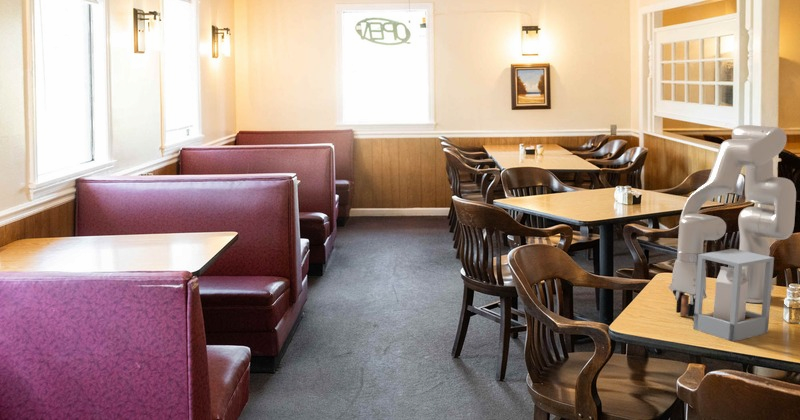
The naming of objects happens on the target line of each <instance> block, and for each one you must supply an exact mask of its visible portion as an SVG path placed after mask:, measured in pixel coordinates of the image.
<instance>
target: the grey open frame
mask: <svg viewBox="0 0 800 420" xmlns="http://www.w3.org/2000/svg"><path fill="white" fill-rule="evenodd" d="M706 261H711V262H715V263H719V264H722V265H723V264H724V265H728V267H730V268H734V275H733V288H732V301H731V314H730V322H728V321H724V320H721V319H718V318H714V317H711V316H708V315H705V314H706V313H703V302H704V301H703V300H704V299H703V289H704V275H705V270H706ZM774 261H775V257H774V256H770V255H769V256H765V255H760V254H755V253H751V252H746V251H742V250H739V249H737V248H729V249H724V250H718V251H717V250H716V251H710V252H703V254H698V268H697V282H696V297H695V311H694V318H693V327H692V328H693V330H695V329H696V331H699V332H702V333H706V334H709V335H711V336H715V337H718V338H720V339H724V340H726V341H730V342H739V341H741V340H745V339H749V338H753V337H757V336H761V335H765V334H768V333H769V322H770V312H771V311H770V310H771V300H772V299H771V298H772V290H771V288H772V285H773V275H774ZM765 262H766V267H765V279H764V291H763V303H761V314H760V313H758V312H754V311H750V310H746V311H745V315H748V316H751V317H755V318H754V319H749V320H745V321H741V322H738V313H739V300H740V287H741V275H742V267H743V266H748V265H754V264H759V263H765Z"/></svg>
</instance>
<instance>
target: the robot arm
mask: <svg viewBox="0 0 800 420" xmlns="http://www.w3.org/2000/svg"><path fill="white" fill-rule="evenodd" d="M787 137H788V136H787V134H786V132H785V130H784V129H782V128H780V127H776V126H765V125H764V126H763V125H754V124H753V125H752V124H751V125H750V124H749V125H748V124H743V125H737V126H736V127H733V129H732V132H731V139H726V140H723V141H722V143H720V145H719V147H718V151H717V153H716V156H715V159H714V161H713V165H712V167H711V171H710V172H709V176H708V179H707V180H706V182H705V183H704V184H702V185H701V186H699V187H698V188H697V189H696V190H695V191H694V192H692V194H690V195H689V196H688V198H687V199H686V201H685V203H684V205H683V208H682V211H681V214H680V217H679V221H678V225H679V226H678V236H677V237H678V240H677V251H676V253H677V257H676V259H675V261H674V263H673V265H674V266H673V268H672V275H671V283H670V285H669V286H668V289H669V290H670V291H671V292H672V294H673V295H674V299H675V300H676V310H675V311H676V312H675V313H680V312H681V297H682V295H689V303H688V316H687V317H689V316H694V311H695V297H696V282H697V268H698V254H704V241H717V240H719V239H721V238H722V237H724V236H725V234H726V232H727V223H726V222H725V221H724V219H722V218H721V217H719V216H713V215H708V214H704V213H699V212H700V210H701V208H702V207H703V205H705V204H706V203H707V202H709V201H710V200H712V199H715V198H717V197H721V196H724V195H727V194H730V193H732V192H733V191H734V190H735V189H736V186H737V183H738V181H739V177H740V174H741V171H742V169H743V167H745V171H744V172H745V173H744V174H745V176H744V198H745V200H746V201H748V202H750V203H753V204H760V205H765V206H771V207H772V206H773V207H774V208H767V207H762V206H747V207H745V208H743V209H742V210H741V211H740V212H739V215H738V219H737V220H738V221H737V222H738V231H739V232H738V233H739V248H738V250H742V251H746V252H751V253H755V254H760V255H765V256H769V257H770V255H771V254H770V253H771V252H770V251H771V250H770V249H771V248H770V245H769V242H768V241H767V238H769V239H773V240H774V239H775V240H787V239H789V238H790V237H791V236H792V235H793V232H794V229H795V228H794V227H795V217H796V202H797V191H796V187H795V183H794V182H793V181H792V180H791V179H790V178H789V179H788V178H786V177H780V176H779V177H778V176H774V158H775V157H777V156H778V155H779V154H781V152H782V151H783V150H784V149H785V147H786V144H787ZM765 267H766V262H765V263H759V264H754V265H748V266H743V267H742V269H744V270H745V274H746V277H747V280H748V286H747V299H746V303H750V304H751V303H752V304H754V303H755V304H762V303H763V291H764V279H765ZM706 272H707V271H706V269H705V275H704V289H703V300H704V299H707V297H708V296H707V293H706V291H707V290H706V289H707V273H706ZM774 289H775V287H774V285H773V284H772V288H771V291H773V290H774Z"/></svg>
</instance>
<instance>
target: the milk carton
mask: <svg viewBox="0 0 800 420" xmlns="http://www.w3.org/2000/svg"><path fill="white" fill-rule="evenodd" d="M733 275H734V268H730V267H729V266H721V265H720V270H719V272H718V275H717V278H716V279H715V280H716V281H715V287H714V288H715V291H714V301H713V302H714V304H713V312H714V315H713V317H714V318H718V319H721V320H724V321H728V322H730V314H731V301H732V288H733ZM747 286H748V280H747V277H746V274H745V270H744V269H742V275H741V287H740V300H739V313H738V321H741V320H745V311H746V309H747V302H746V299H747Z"/></svg>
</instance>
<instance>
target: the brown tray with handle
mask: <svg viewBox="0 0 800 420" xmlns="http://www.w3.org/2000/svg"><path fill="white" fill-rule="evenodd" d="M688 304H690V295H689V294H685V295H682V297H681V312H680V315H679V316H681V317H689V318H691V319H692V318H693V319H694V316H688ZM704 314H705V315H708V316H711V317H713V315H714V311H713V312H709V313H708V312H707V313H704ZM754 318H755V317H751V316H748V315H745V320H749V319H754ZM745 320H741V321H745ZM741 321H738V322H741Z"/></svg>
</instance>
